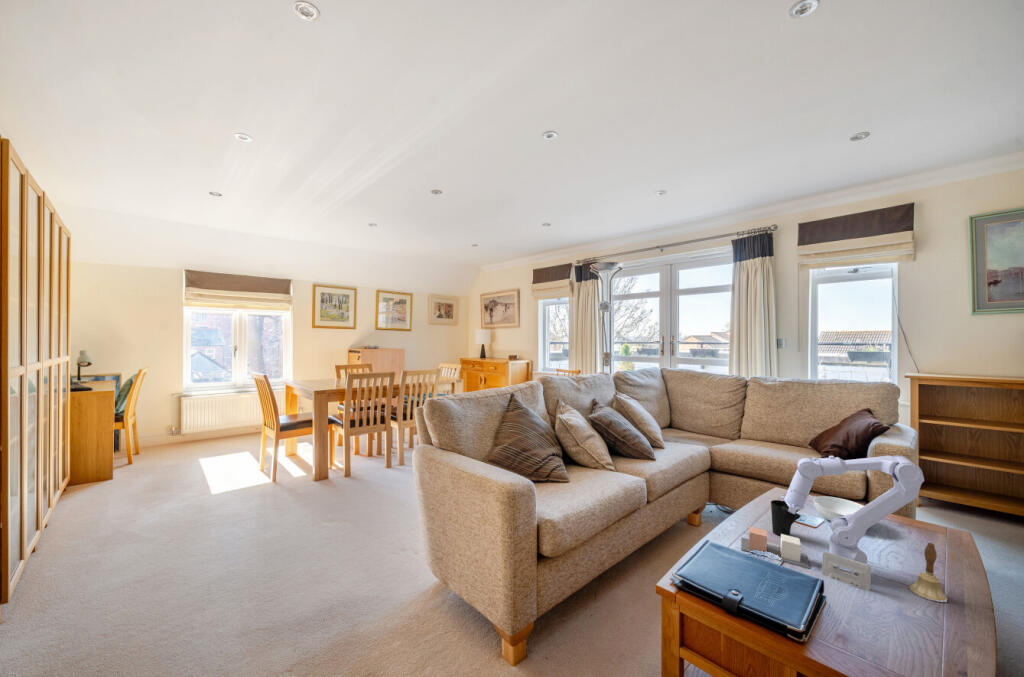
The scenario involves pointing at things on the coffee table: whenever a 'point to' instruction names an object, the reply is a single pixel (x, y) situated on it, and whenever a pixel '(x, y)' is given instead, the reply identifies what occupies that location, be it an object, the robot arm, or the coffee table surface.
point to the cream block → (790, 547)
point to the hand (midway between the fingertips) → (785, 524)
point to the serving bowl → (835, 507)
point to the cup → (778, 518)
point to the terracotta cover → (757, 539)
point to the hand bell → (928, 578)
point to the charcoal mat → (776, 553)
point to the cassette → (845, 576)
